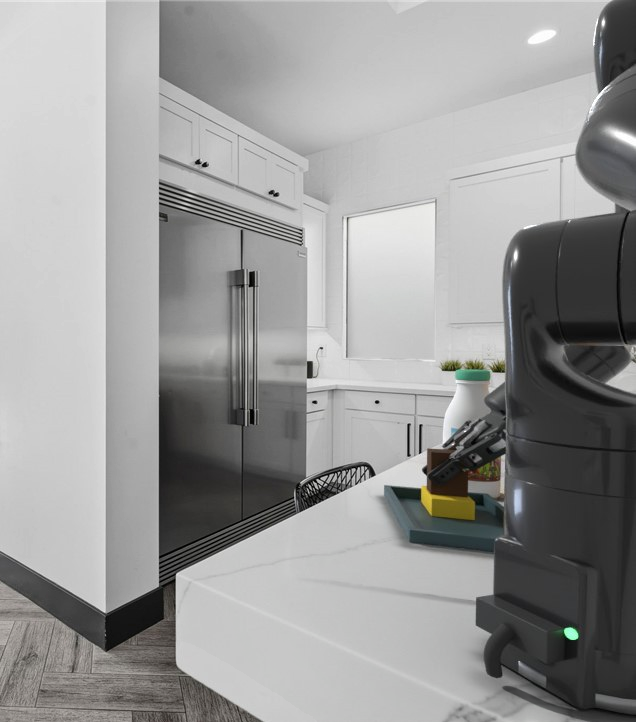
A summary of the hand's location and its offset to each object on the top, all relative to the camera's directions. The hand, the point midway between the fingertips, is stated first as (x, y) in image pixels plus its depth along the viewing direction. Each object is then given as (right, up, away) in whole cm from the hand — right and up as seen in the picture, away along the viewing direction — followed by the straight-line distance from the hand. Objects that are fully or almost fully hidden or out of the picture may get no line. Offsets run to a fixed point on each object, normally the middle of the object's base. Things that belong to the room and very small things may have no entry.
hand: (429, 478), depth 76 cm
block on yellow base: (+2, -4, -1) cm, 5 cm away
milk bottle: (+13, -5, +10) cm, 17 cm away
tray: (0, -5, -5) cm, 7 cm away
